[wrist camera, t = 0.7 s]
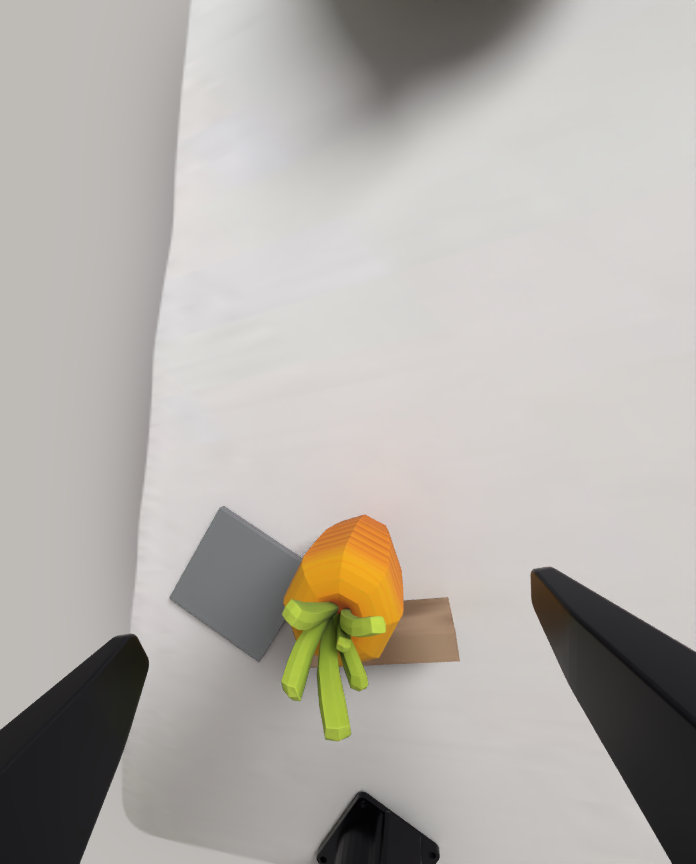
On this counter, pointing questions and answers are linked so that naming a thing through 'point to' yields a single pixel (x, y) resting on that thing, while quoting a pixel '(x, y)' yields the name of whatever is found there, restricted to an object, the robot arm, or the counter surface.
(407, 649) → the walnut block
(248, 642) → the charcoal mat
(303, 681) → the carrot
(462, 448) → the counter surface
